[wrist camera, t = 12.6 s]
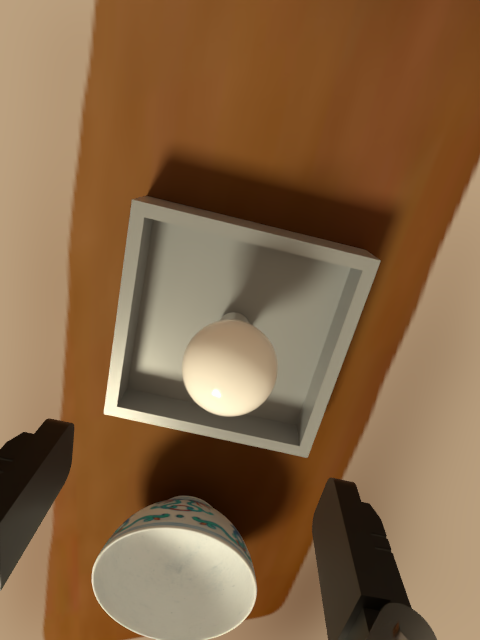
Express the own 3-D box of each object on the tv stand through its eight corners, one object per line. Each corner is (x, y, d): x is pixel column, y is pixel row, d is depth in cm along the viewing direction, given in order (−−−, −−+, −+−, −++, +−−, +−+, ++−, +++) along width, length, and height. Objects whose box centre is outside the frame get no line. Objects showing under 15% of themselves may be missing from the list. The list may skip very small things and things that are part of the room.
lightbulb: (195, 355, 35) (172, 433, 24) (198, 285, 32) (174, 338, 22) (267, 361, 35) (275, 440, 24) (275, 291, 33) (287, 347, 22)
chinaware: (99, 538, 45) (69, 609, 37) (150, 441, 40) (127, 502, 32) (218, 584, 47) (212, 660, 39) (281, 498, 42) (287, 567, 34)
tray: (146, 195, 31) (131, 199, 27) (365, 249, 32) (380, 260, 28) (118, 389, 37) (103, 413, 34) (302, 429, 38) (307, 457, 35)
